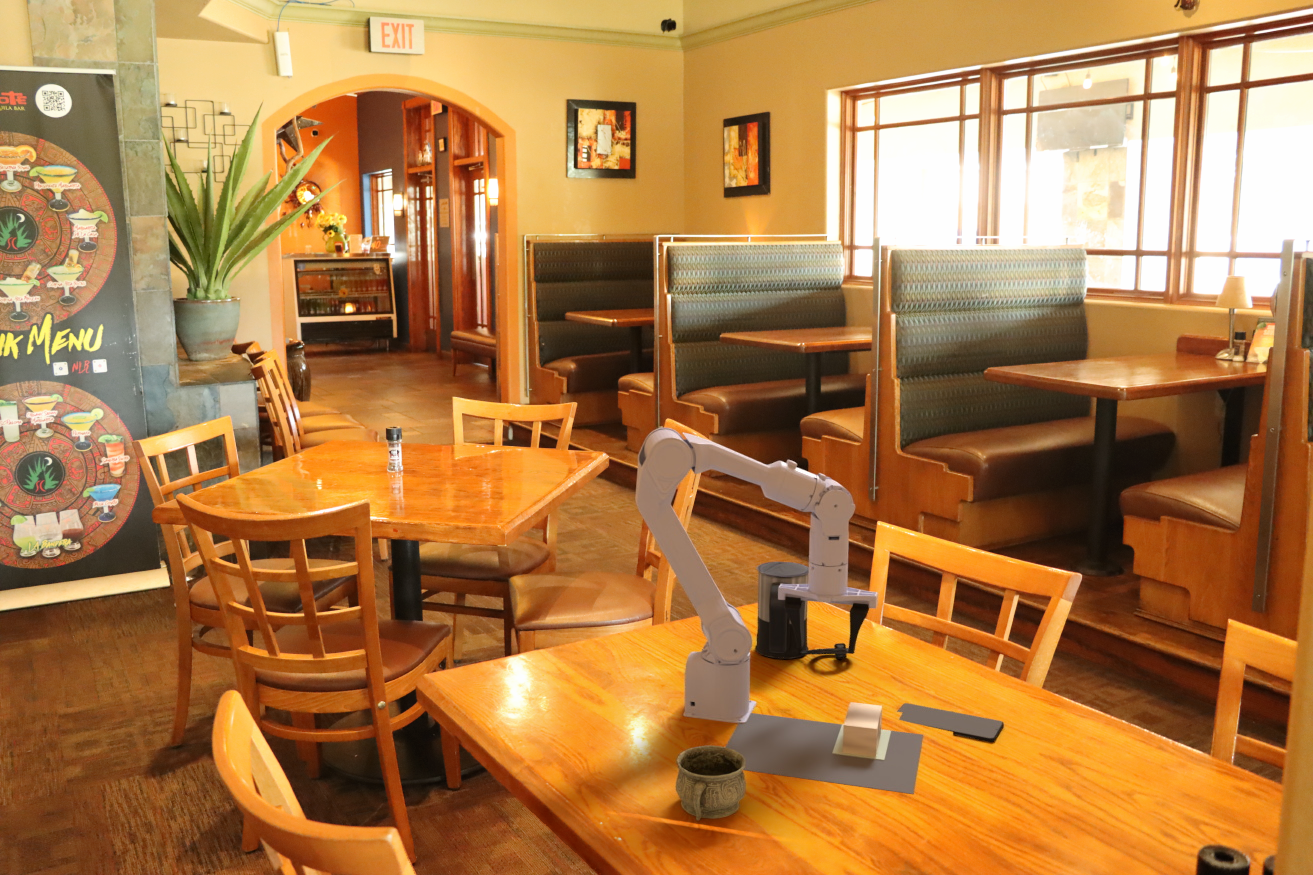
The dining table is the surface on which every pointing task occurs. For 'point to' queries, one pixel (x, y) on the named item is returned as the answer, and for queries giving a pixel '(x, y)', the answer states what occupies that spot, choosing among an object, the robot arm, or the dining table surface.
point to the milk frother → (783, 614)
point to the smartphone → (952, 722)
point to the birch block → (862, 729)
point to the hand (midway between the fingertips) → (826, 648)
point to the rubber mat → (826, 753)
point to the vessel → (710, 781)
